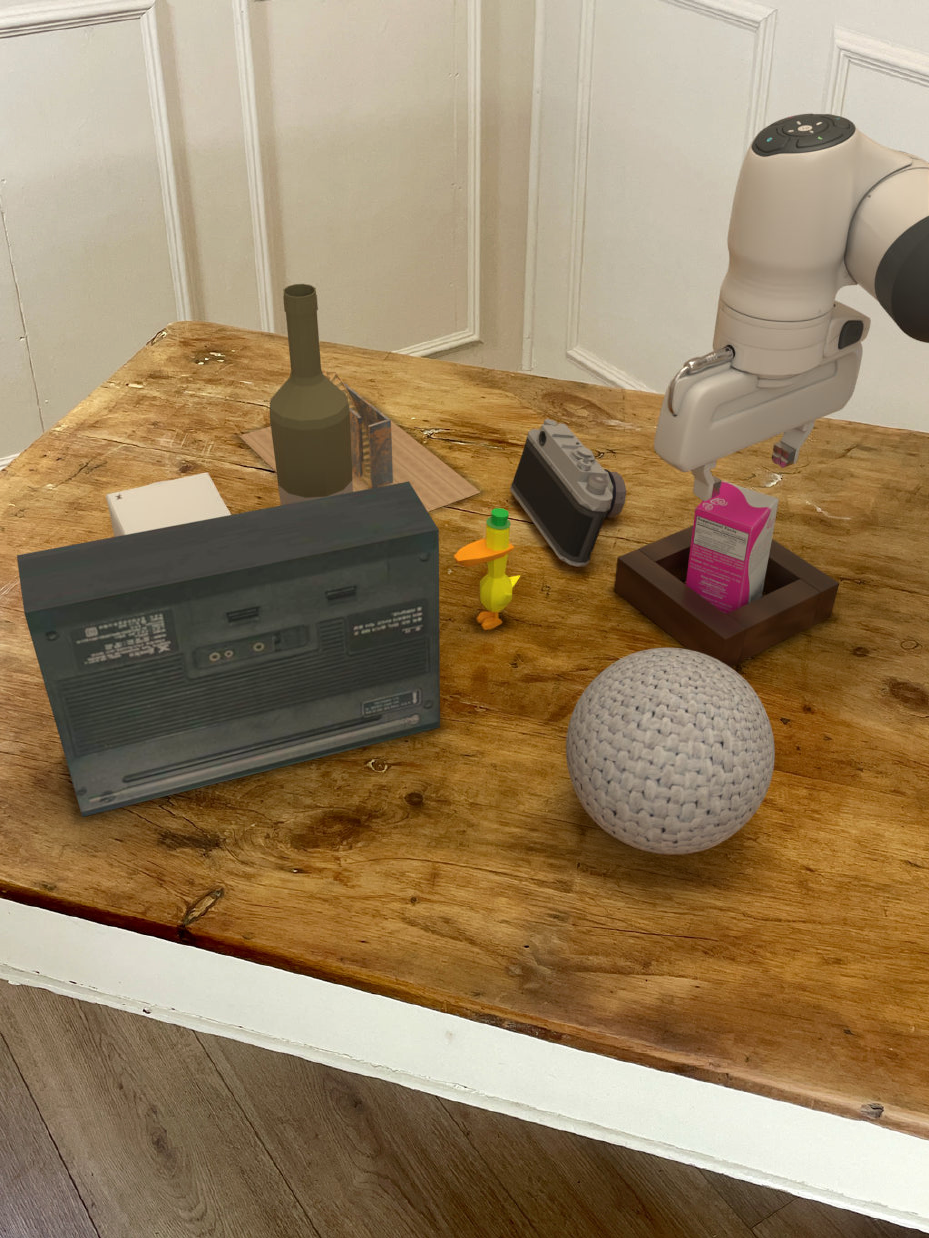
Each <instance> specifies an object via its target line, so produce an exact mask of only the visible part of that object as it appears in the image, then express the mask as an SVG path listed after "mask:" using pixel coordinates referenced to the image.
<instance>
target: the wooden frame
mask: <svg viewBox="0 0 929 1238" xmlns="http://www.w3.org/2000/svg"><path fill="white" fill-rule="evenodd" d="M692 531H693V525H690V526H688V527H686V528H684V529H680V530H679V531H677V532H674V533H672V534H669V535H667V536H664V537H663V538H659V539H657V540H656V541H653V542H651V543H649V544H646V545H644V546H641V547H639V548H637V549H634V550H632V551H630V552H627V553H624V554H623V555H620V556H618V557H617V558H616V559H617V560H616V568H615V575H614V576H615V577H614V587H613V592H615V593H616V594H617V595H618V596H620V598H622V599H623V600H625V601H626V602H627V603H628V604H629V605H631V606H632V607H634V608H635V609H636V610H637V611H639V612H640V613H641V614H642V615H644V616H645V617H647V618H648V619H649V620H650V621H651V622H652V623H654V624H655V625H656V626H658V627H659V628H660V629H662V630H663V631H664V632H665V633H667V634H668V635H669V636H670V637H672V638H673V639H674V640H676V641H677V642H678V643H680V644H681V645H682V646H683V647H684V648H685V649H687V650H692V651H696V652H699V653H703V654H705V655H708V656H711V657H713V658H715V659H717V660H719V661H721V662H722V663H724V664H726V665H727V666H729V667H730V668H732V667H734V666H736V665H738V664H739V663H740V664H741V663H742V662H744V661H746V660H748V659H750V658H752V657H754V656H756V655H758V654H760V653H762V652H764V651H766V650H768V649H771V648H772V647H774V646H776V645H778V644H780V643H781V642H784V641H786V640H788V639H789V638H792V637H794V636H796V635H798V634H799V633H801V632H803V631H806V630H808V629H810V628H812V627H814V626H816V625H818V624H820V623H822V622H824V621H826V620H828V619H830V618H831V617H832V615H833V610H834V607H835V603H836V598H837V594H838V591H839V586H840V582H839V581H837V580H836V579H834V578H832V577H831V576H829V574H827V573H825V572H823V571H822V570H821V569H820V568H817V567H816V566H815V565H813V564H811V563H810V562H808V561H807V560H805V559H804V558H802V557H801V556H799V555H798V554H796V553H794V552H793V551H792V550H790V549H789V548H787V547H786V546H784V545H782V544H781V543H780V542H778V541H776V540H775V539H773V538H772V541H771V547H770V552H769V558H768V564H767V569H766V575H765V580H764V587H763V593H764V594H765V595H762V597H761V598H759V599H757V600H755V601H753V602H751V603H748V604H746V605H744V606H742V607H740V608H738V609H736V610H734V611H732V612H730V613H727V614H725V613H723V612H722V611H721V610H719V609H718V608H717V607H715V606H714V605H713V604H711V603H710V602H708V601H707V600H706V599H704V598H703V597H702V596H700V595H699V594H698V593H696V592H695V591H694V590H692V589H691V588H689V587H688V586H687V585H686V583H684V582H683V581H686V578H687V570H688V562H689V555H690V547H691V539H692Z"/></svg>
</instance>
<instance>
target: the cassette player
mask: <svg viewBox="0 0 929 1238" xmlns="http://www.w3.org/2000/svg"><path fill="white" fill-rule="evenodd" d="M16 561H17V568H18V576H19V583H20V584H19V585H20V591H21V599H22V606H23V613H24V614H23V615H24V617H25V620H26V621H25V622H26V624H27V628H28V631H29V634H30V638H31V642H32V646H33V649H34V653H35V656H36V660H37V663H38V666H39V670H40V674H41V677H42V680H43V681H42V682H43V684H44V687H45V690H46V695H47V698H48V701H49V705H50V709H51V712H52V715H53V719H54V722H55V726H56V729H57V732H58V737H59V740H60V744H61V747H62V750H63V754H64V758H65V762H66V764H67V768H68V772H69V775H70V779H71V783H72V786H73V790H74V792H75V797H76V800H77V804H78V806H79V807H78V808H79V810H80V814H81V817H82V818H85V817H89V816H92V815H96V814H100V813H104V812H108V811H112V810H115V809H120V808H124V807H129V806H132V805H136V804H140V803H144V802H148V801H152V800H155V799H156V800H157V799H160V798H164V797H167V796H173V795H177V794H179V793H184V792H189V791H193V790H197V789H200V788H203V787H208V786H212V785H216V784H221V783H223V782H228V781H232V780H236V779H241V778H244V777H247V776H251V775H256V774H259V773H263V772H268V771H272V770H276V769H279V768H284V767H288V766H293V765H296V764H299V763H303V762H304V763H305V762H308V761H312V760H316V759H319V758H324V757H327V756H332V755H335V754H340V753H343V752H347V751H352V750H356V749H360V748H364V747H368V746H371V745H376V744H379V743H383V742H384V743H385V742H388V741H391V740H395V739H400V738H404V737H408V736H412V735H416V734H419V733H423V732H428V731H432V730H435V729H440V728H441V694H440V693H441V679H440V678H441V677H440V675H441V674H440V673H441V670H440V669H441V667H440V666H441V663H440V662H441V661H440V655H441V654H440V650H441V649H440V646H441V645H440V644H441V643H440V528H438V526H437V525H436V523H435V521H434V519H433V518H432V516H431V514H430V512H428V511H427V510H426V508H425V506H424V505H423V503H422V502H421V500H420V498H419V497H418V495H417V493H416V492H415V490H414V489H413V487H412V485H411V484H410V482H409V481H408V482H403V483H398V484H392V485H387V486H382V487H376V488H371V489H366V490H361V491H355V492H350V493H345V494H339V495H334V496H329V497H323V498H318V499H313V500H308V501H302V502H297V503H292V504H286V505H281V504H280V505H277V506H271V507H266V508H261V509H255V510H249V511H245V512H239V513H233V514H231V515H228V516H223V517H217V518H212V519H207V520H202V521H196V522H191V523H186V524H180V525H175V526H170V527H164V528H159V529H154V530H149V531H143V532H138V533H133V534H127V535H122V536H117V537H114V536H112V537H108V538H102V539H97V540H90V541H85V542H79V543H75V544H70V545H69V544H68V545H64V546H60V547H53V548H49V549H44V550H38V551H34V552H33V551H31V552H27V553H22V554H17V555H16Z"/></svg>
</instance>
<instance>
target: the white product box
mask: <svg viewBox="0 0 929 1238" xmlns="http://www.w3.org/2000/svg"><path fill="white" fill-rule="evenodd" d="M105 498H106V502H107V507H108V508H107V509H108V513H109V518H110V522H111V527H112V532H113V537H117V536H122V535H127V534H133V533H138V532H143V531H149V530H154V529H159V528H164V527H170V526H175V525H180V524H186V523H191V522H196V521H202V520H207V519H212V518H217V517H223V516H228V515H232V514H231V511H230V510H229V508H228V507H227V505H226V503H225V501H224V499H223V497H222V496H221V494H220V492H219V491H218V489H217V487H216V485H215V483H214V480H213V479H212V477H211V475H210V473H209V472H202V473H197V474H193V475H188V476H183V477H179V478H175V479H169V480H161V481H156V482H153V483H152V482H151V483H149V484H146V485H143V486H138V487H133V488H129V489H124V490H120V491H115V492H110V493H107V494H105Z"/></svg>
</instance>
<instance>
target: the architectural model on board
mask: <svg viewBox="0 0 929 1238" xmlns="http://www.w3.org/2000/svg"><path fill="white" fill-rule="evenodd" d="M322 372H323V375H324V376H325V377H326V378H327V379H329V380H330V381H331V382H332V383H333V384H334V385H336V386H337V387H338V388H339V389H340V390H341V391H342V392H344V393H345V394H346V396H347V399H348V402H349V411H350V431H351V456H352V480H353V492H355V491H361V490H366V489H371V488H376V487H382V486H387V485H392V484H398V483H403V482H408V481H409V482H410V484H411V485H412V487H413V489H414V490H415V492H416V493H417V495H418V497H419V498H420V500H421V502H422V503H423V505H424V506H425V508H426V510H427V511H428V513H430V512H431V511H434V510H437V509H440V508H442V507H445V506H448V505H451V504H454V503H456V502H459V501H461V500H464V499H467V498H469V497H472V496H475V495H477V494H481V493H482V492H481V491H480V490H479V489H477V488H476V487H475V486H474V485H473V484H471V483H470V482H469V481H467V480H466V479H465V478H464V477H463V476H461V475H460V474H459V473H457V472H456V471H455V470H454V469H453V468H451V467H450V466H448V465H447V464H446V463H444V462H443V460H441V459H440V458H438V456H436V455H435V454H434V453H432V452H431V451H430V450H429V449H427V448H426V447H425V446H424V445H422V444H421V443H420V442H418V441H417V440H416V439H415V438H414V437H412V436H411V435H410V434H408V432H406V431H405V430H403V429H402V428H401V427H400V426H399V425H397V424H396V423H395V422H393V421H392V419H390V418H389V417H388V416H387V415H386V414H384V413H383V412H382V411H380V410H379V409H378V408H377V407H376V406H374V405H373V404H372V403H370V401H368V400H367V399H366V398H365V397H363V396H361V394H359V393H358V392H356V390H354V389H353V388H352V387H350V386H349V385H348V384H347V383H345V382H344V381H343V380H342V378H341V377H340V376H339V374H338V373H337V372H336V371H327V370H322ZM238 437H239V438H240V439H241V440H242V441H243V442H244V443H245V444H246V445H247V446H248V447H249V448H251V449H252V451H254V453H256V454H257V456H259V457H260V458H261V459H262V460H263V462H265V463H266V464H267V465H268V466H269V467H270V468H271V469H272V470H273V471H274V472H275V473H277V471H276V463H275V456H274V448H273V440H272V432H271V425H270V426H267V427H264V428H261V429H257V430H254V431H251V432H246V433H243V434H241V435H239V436H238Z"/></svg>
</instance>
